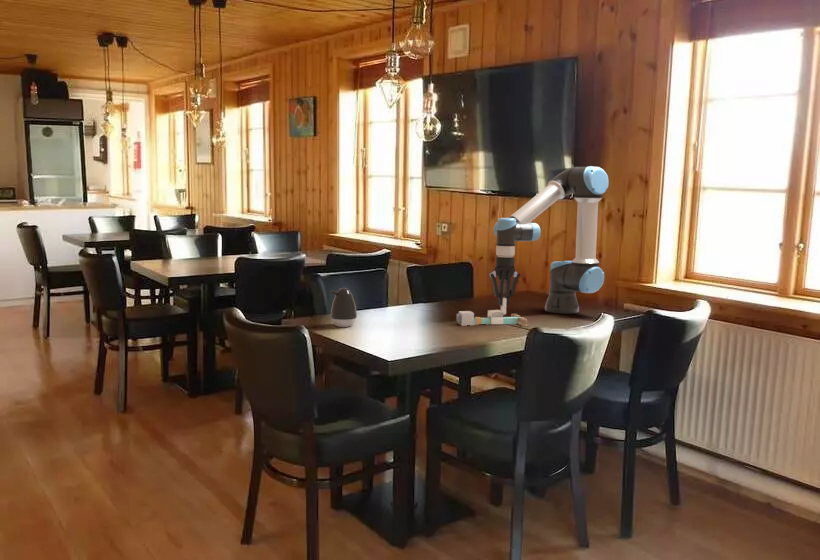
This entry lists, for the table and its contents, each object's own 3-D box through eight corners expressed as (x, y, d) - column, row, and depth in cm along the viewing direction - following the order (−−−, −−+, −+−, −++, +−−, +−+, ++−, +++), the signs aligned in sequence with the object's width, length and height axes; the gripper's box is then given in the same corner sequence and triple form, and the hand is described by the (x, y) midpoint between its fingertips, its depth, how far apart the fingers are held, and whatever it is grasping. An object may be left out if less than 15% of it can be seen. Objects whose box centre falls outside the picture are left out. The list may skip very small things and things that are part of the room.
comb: (515, 320, 299) (516, 313, 299) (527, 326, 286) (527, 319, 285) (510, 320, 299) (510, 313, 298) (521, 326, 285) (522, 319, 285)
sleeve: (499, 321, 293) (499, 309, 293) (503, 324, 288) (503, 312, 287) (487, 321, 292) (487, 310, 292) (491, 324, 287) (491, 312, 287)
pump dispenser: (326, 324, 283) (327, 286, 281) (351, 323, 287) (352, 285, 285) (334, 329, 273) (334, 290, 271) (360, 327, 277) (360, 289, 275)
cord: (519, 322, 295) (519, 310, 294) (523, 324, 290) (523, 312, 289) (455, 323, 289) (456, 311, 289) (459, 325, 285) (459, 313, 284)
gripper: (517, 255, 292) (515, 312, 295) (487, 255, 290) (485, 312, 293) (523, 257, 285) (521, 315, 288) (492, 257, 282) (490, 315, 285)
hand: (503, 313), depth 290 cm, fingers closed
